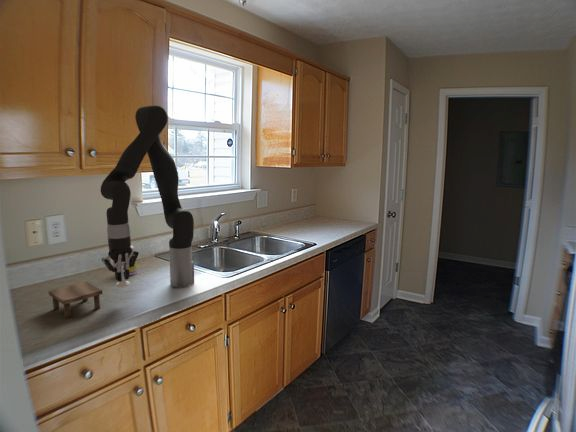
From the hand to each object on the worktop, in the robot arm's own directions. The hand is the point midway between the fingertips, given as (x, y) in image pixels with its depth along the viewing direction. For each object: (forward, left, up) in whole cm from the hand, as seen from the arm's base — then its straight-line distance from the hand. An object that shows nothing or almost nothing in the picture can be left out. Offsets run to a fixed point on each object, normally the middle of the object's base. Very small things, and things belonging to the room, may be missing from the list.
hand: (122, 279), depth 139 cm
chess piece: (0, 0, -2) cm, 2 cm away
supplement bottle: (-19, -30, -10) cm, 37 cm away
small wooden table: (+13, -8, -10) cm, 18 cm away
